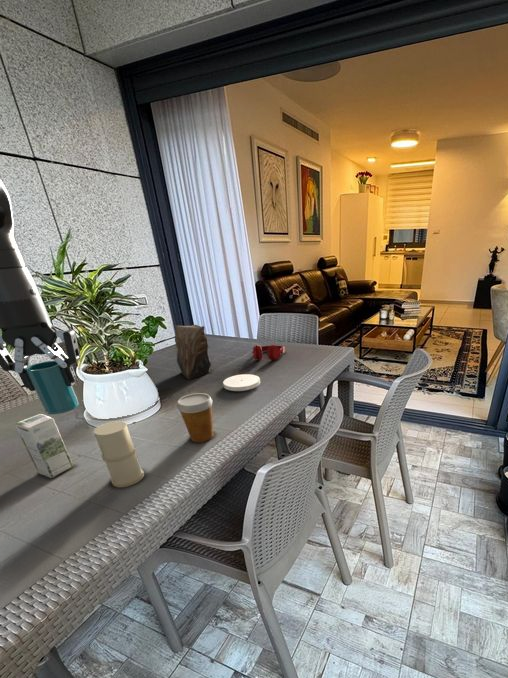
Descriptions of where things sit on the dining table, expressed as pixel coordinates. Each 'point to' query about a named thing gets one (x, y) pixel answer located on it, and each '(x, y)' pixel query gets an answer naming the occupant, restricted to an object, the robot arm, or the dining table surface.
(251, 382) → the plastic lid
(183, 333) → the brown stone chunk
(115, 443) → the cup stack
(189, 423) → the disposable coffee cup
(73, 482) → the dining table surface
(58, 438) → the syrup box
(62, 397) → the teal cup
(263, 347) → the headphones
